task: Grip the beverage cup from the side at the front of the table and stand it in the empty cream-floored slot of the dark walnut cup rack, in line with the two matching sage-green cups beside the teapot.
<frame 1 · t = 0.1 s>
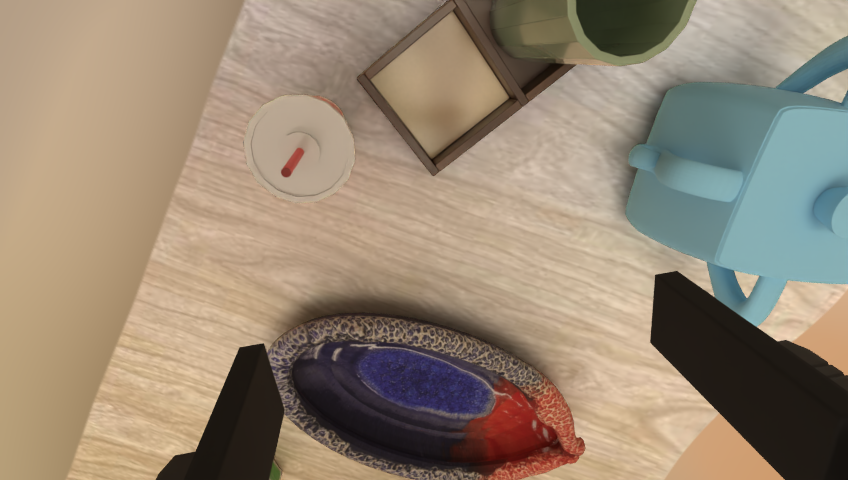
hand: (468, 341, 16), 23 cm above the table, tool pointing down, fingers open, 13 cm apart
cup rack: (529, 15, 33), on the table
beverage cup: (316, 127, 34), on the table
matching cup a: (569, 6, 27), in the cup rack
teapot: (718, 165, 39), on the table
dish: (430, 382, 44), on the table
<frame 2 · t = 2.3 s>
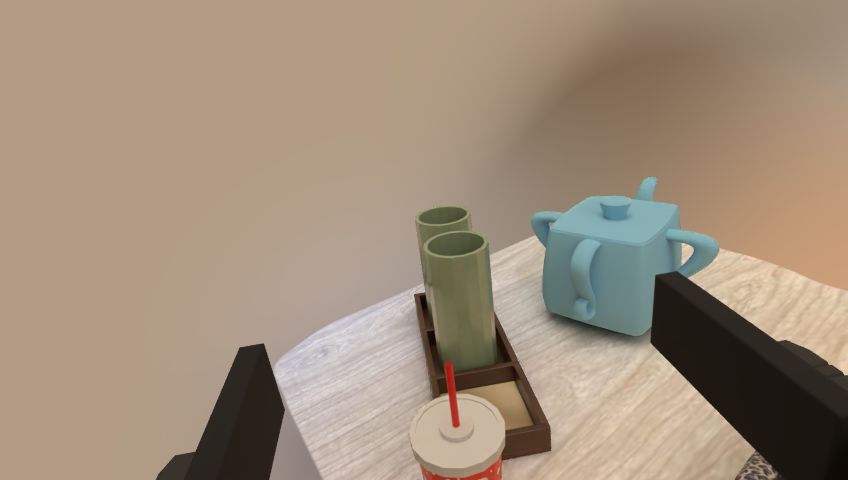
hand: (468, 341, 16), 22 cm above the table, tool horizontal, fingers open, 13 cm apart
cup rack: (468, 364, 49), on the table
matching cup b: (455, 323, 56), resting on cup rack
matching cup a: (462, 307, 46), in the cup rack
teapot: (616, 301, 56), on the table
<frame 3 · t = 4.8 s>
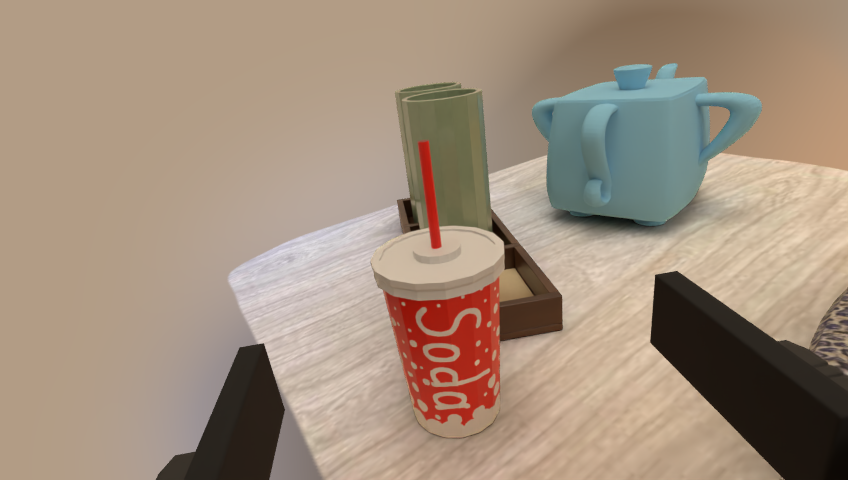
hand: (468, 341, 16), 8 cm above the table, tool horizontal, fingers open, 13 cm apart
cup rack: (459, 260, 40), on the table
beverage cup: (457, 406, 25), on the table
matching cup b: (444, 228, 48), resting on cup rack
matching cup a: (450, 183, 38), in the cup rack
teapot: (631, 202, 48), on the table
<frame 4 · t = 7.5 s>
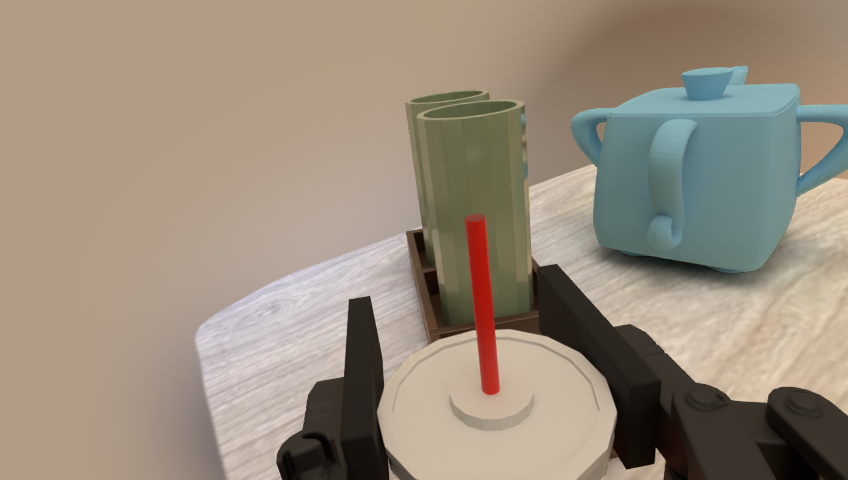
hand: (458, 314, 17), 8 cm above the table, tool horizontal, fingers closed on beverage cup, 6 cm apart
cup rack: (488, 319, 32), on the table
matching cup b: (464, 268, 39), resting on cup rack
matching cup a: (479, 224, 29), in the cup rack
teapot: (694, 236, 39), on the table
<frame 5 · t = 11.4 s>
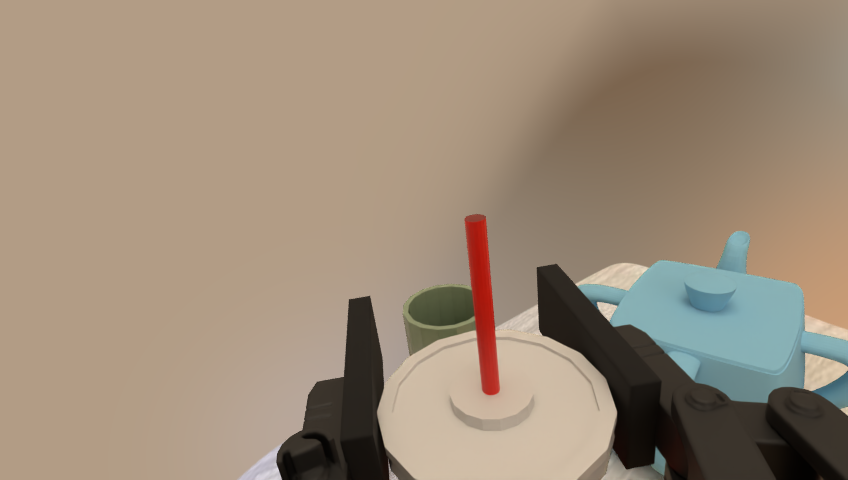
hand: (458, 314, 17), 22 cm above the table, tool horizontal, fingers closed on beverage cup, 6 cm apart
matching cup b: (463, 450, 38), resting on cup rack
teapot: (696, 414, 39), on the table
when the fingers open (9 cm above the table, at t = 15.4 s): beverage cup stays where it is, resting on cup rack.
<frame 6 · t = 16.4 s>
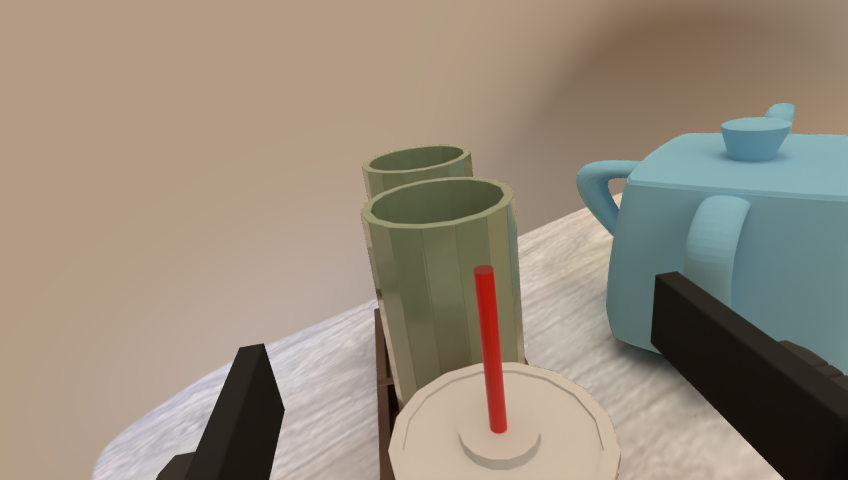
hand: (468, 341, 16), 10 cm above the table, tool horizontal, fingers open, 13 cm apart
cup rack: (470, 457, 24), on the table
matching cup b: (445, 361, 31), resting on cup rack
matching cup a: (455, 344, 21), in the cup rack
teapot: (731, 318, 32), on the table
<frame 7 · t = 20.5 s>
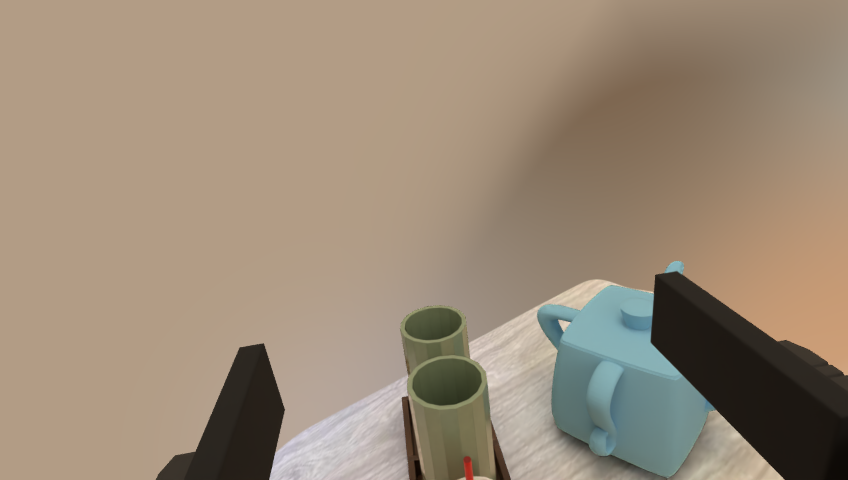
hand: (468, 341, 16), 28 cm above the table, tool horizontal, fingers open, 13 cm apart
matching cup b: (449, 437, 48), resting on cup rack
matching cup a: (455, 448, 38), in the cup rack
teapot: (637, 410, 48), on the table
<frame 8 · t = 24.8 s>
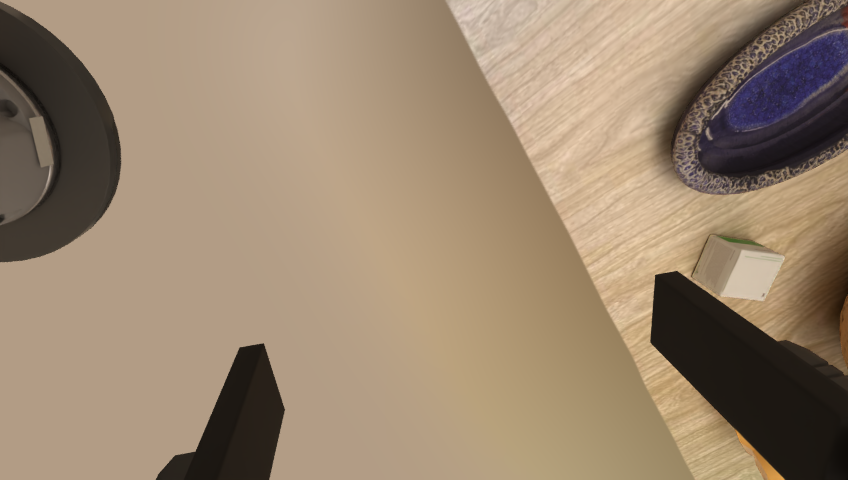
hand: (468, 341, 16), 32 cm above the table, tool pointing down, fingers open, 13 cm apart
small box: (719, 257, 54), on the table
dog: (734, 395, 62), on the table
dish: (790, 80, 47), on the table
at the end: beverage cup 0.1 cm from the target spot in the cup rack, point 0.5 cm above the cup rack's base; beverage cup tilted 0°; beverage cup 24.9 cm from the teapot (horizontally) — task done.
